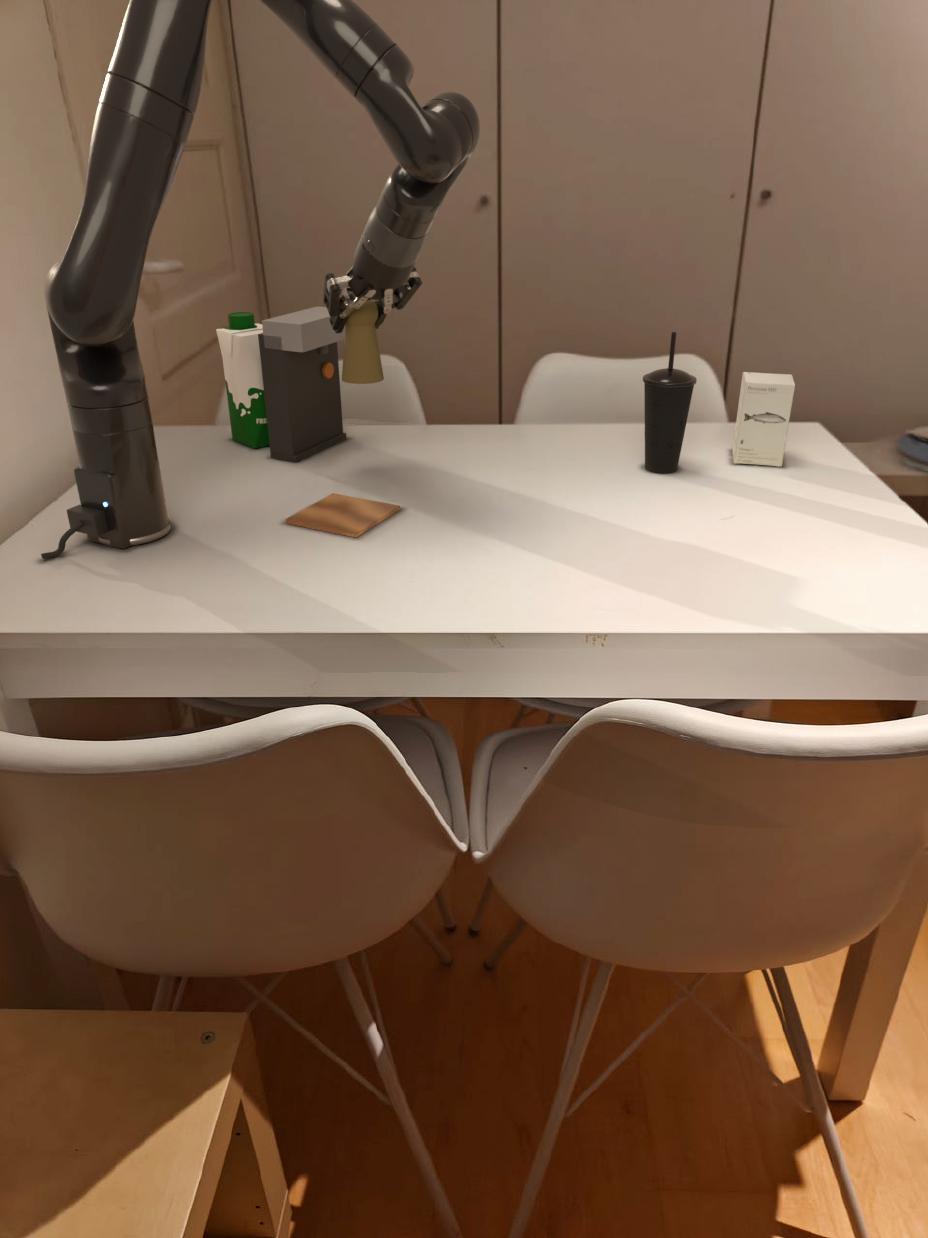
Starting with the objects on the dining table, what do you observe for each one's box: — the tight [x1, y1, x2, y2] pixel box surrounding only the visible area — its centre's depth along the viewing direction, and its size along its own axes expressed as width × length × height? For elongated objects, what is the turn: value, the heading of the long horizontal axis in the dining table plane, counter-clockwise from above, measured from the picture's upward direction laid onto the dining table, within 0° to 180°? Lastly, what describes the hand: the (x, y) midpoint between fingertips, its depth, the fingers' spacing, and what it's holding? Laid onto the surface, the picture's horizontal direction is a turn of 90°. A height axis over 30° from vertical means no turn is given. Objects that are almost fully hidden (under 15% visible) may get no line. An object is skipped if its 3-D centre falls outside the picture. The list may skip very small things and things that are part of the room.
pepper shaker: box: [341, 299, 385, 385], centre depth 131 cm, size 6×6×11 cm
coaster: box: [284, 492, 401, 538], centre depth 123 cm, size 11×11×1 cm
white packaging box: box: [731, 371, 796, 467], centre depth 141 cm, size 7×7×13 cm
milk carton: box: [215, 311, 270, 449], centre depth 150 cm, size 9×9×20 cm
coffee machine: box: [258, 306, 347, 463], centre depth 145 cm, size 14×8×21 cm, turn 153°
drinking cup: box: [642, 331, 698, 474], centre depth 136 cm, size 8×8×20 cm
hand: (354, 325), depth 131 cm, fingers closed on pepper shaker, 5 cm apart
